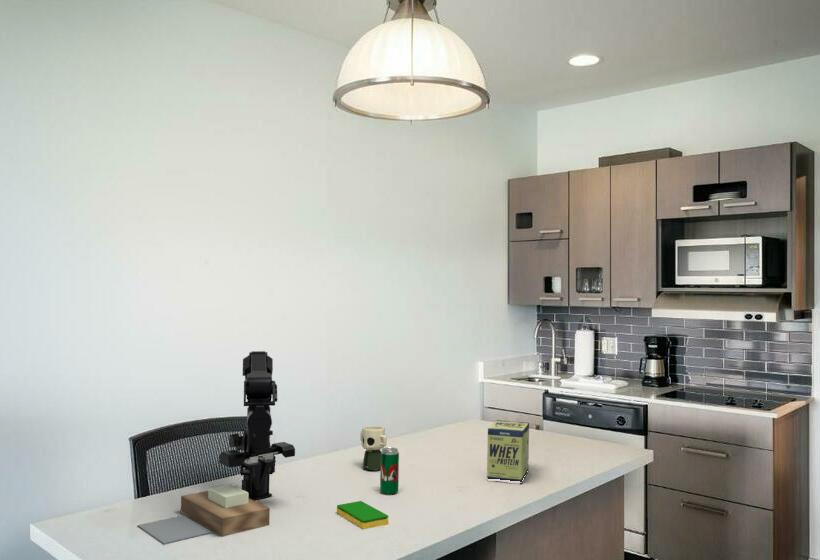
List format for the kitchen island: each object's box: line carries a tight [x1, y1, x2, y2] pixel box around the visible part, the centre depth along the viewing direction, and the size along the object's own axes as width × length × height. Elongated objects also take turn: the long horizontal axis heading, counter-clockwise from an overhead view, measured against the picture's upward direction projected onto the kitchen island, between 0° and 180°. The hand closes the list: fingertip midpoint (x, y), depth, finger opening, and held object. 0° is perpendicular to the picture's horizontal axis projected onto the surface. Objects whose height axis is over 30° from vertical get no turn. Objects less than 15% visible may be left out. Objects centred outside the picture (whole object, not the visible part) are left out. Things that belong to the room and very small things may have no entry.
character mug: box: [359, 425, 388, 471], centre depth 216 cm, size 11×7×13 cm, turn 49°
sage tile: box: [207, 484, 249, 508], centre depth 169 cm, size 6×9×2 cm, turn 42°
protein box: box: [486, 419, 530, 483], centre depth 211 cm, size 10×16×16 cm
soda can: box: [379, 446, 400, 495], centre depth 192 cm, size 5×5×12 cm
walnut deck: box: [180, 490, 271, 537], centre depth 168 cm, size 12×22×4 cm, turn 42°
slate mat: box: [137, 514, 212, 545], centre depth 160 cm, size 11×15×1 cm
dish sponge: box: [336, 500, 389, 530], centre depth 170 cm, size 7×14×2 cm, turn 33°
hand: (257, 488), depth 174 cm, fingers closed
